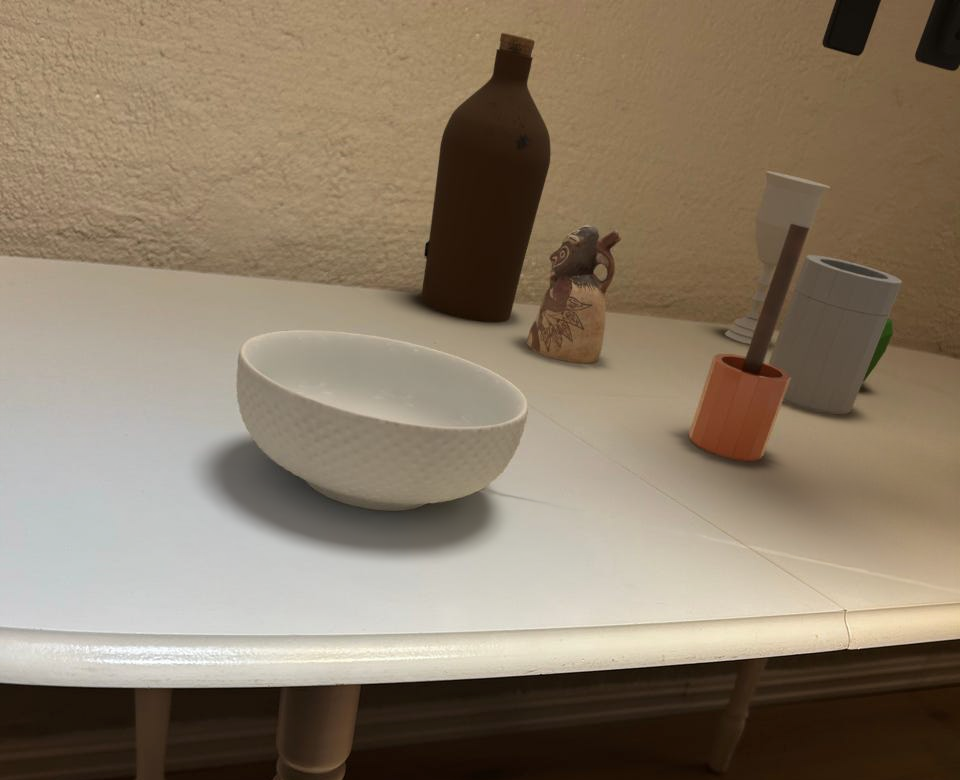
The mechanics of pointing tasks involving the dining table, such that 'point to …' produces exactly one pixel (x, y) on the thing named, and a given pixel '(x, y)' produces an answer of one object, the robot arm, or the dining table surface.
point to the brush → (775, 298)
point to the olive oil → (487, 193)
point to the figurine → (575, 298)
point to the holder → (738, 408)
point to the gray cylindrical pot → (832, 331)
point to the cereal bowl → (377, 417)
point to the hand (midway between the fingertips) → (885, 58)
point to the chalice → (777, 234)
